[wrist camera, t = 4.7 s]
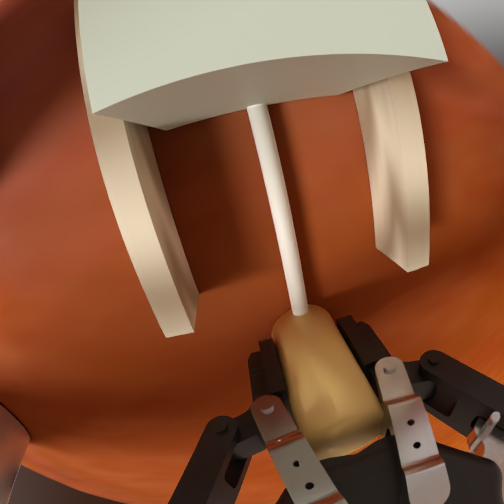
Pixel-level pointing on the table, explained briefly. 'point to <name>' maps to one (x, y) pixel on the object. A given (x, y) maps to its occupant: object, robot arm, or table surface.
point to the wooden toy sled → (163, 226)
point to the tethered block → (263, 135)
